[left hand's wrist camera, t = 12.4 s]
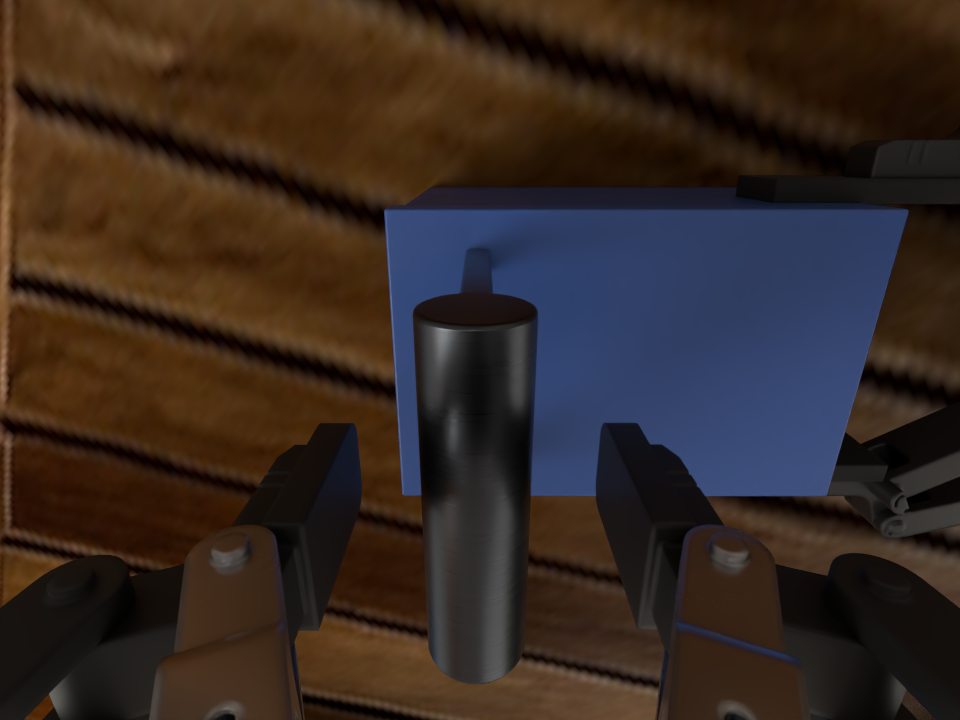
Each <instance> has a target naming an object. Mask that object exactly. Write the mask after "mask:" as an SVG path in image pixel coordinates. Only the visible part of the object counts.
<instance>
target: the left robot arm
mask: <svg viewBox="0 0 960 720" xmlns="http://www.w3.org/2000/svg"><path fill="white" fill-rule="evenodd" d="M361 496H362V480H361V470H360V460H359V450H358V439H357V431H356V427H355V425H354V424H353V423H320V424H319V425H318V427H317V428H316V430H315V432H314V434H313V435H312V437H311V439H310V440H309V442H308V444H307V445H294V446H293V447H292V448H290V449H289V450H287V451H286V452H285V453H283V454H282V455H280V456H279V457H278V458H277V459H276V461H275V462H274V464H273V465H272V467H271V468H270V470H269V471H268V475H266V476H265V477H264V479H263V480H262V482H261V483H260V487H259V488H257V489H256V491H255V492H254V494H253V495H252V497H251V498H250V500H249V501H248V503H247V504H246V506H245V507H244V509H243V510H242V512H241V513H240V515H239V516H238V518H237V519H236V521H235V522H234V524H233V525H232V527H229V528H226V529H223V530H220V531H218V532H216V533H214V534H212V535H210V536H208V537H206V538H205V539H203V540H202V541H201V542H199V543H198V544H197V545H196V546H195V547H194V548H193V549H192V550H191V551H190V553H189V554H188V556H187V558H186V561H185V563H184V564H181V565H179V566H175V567H171V568H167V569H162V570H158V571H153V572H149V573H144V574H140V575H135V576H131V577H130V574H129V571H128V568H127V565H126V563H125V562H124V561H123V560H122V559H121V558H119V557H116V556H112V555H95V556H88V557H84V558H80V559H77V560H74V561H71V562H68V563H66V564H63V565H61V566H59V567H57V568H55V569H53V570H51V571H49V572H48V573H46V574H44V575H43V576H41V577H40V578H39V579H37V580H36V581H34V582H33V583H32V584H31V585H29V586H28V587H27V588H26V589H24V590H23V591H22V592H20V593H19V594H18V595H17V596H15V597H14V598H13V599H11V600H10V601H9V602H8V603H6V604H5V605H4V606H2V607H1V608H0V720H24V719H25V718H26V717H27V716H28V715H29V714H30V712H31V711H32V710H33V709H34V708H35V707H36V706H37V705H38V704H39V703H40V702H41V701H42V700H43V699H44V698H45V697H46V696H47V695H48V694H49V695H50V698H51V700H52V702H53V705H54V708H53V709H52V710H51V711H50V712H49V713H48V714H47V716H46V717H45V718H44V719H43V720H305V718H304V709H303V701H302V693H301V685H300V677H299V669H298V661H297V654H296V649H295V643H294V641H295V639H296V636H297V633H298V631H299V630H319V628H320V625H321V622H322V619H323V616H324V613H325V610H326V607H327V604H328V601H329V598H330V595H331V592H332V589H333V586H334V583H335V580H336V577H337V575H338V572H339V569H340V566H341V563H342V560H343V557H344V554H345V551H346V548H347V545H348V542H349V539H350V536H351V533H352V530H353V527H354V524H355V521H356V518H357V515H358V512H359V509H360V504H361ZM596 501H597V507H598V510H599V514H600V517H601V520H602V523H603V526H604V529H605V532H606V535H607V538H608V541H609V544H610V547H611V550H612V553H613V556H614V559H615V562H616V565H617V568H618V571H619V574H620V577H621V580H622V583H623V586H624V589H625V592H626V595H627V598H628V601H629V604H630V607H631V610H632V613H633V616H634V619H635V622H636V625H637V629H658V632H659V634H660V637H661V640H662V642H663V645H664V648H665V649H664V654H663V661H662V669H661V677H660V685H659V693H658V701H657V709H656V718H655V720H917V719H916V718H915V717H914V716H913V714H912V713H911V712H910V711H909V710H908V709H907V708H906V707H905V706H904V705H903V704H902V703H901V702H902V700H903V697H904V695H905V692H906V690H908V691H909V692H910V693H911V694H912V695H913V696H914V697H915V698H916V699H917V700H918V701H919V702H920V703H921V704H922V705H923V706H924V707H925V708H926V709H927V710H928V711H929V713H930V714H931V715H932V716H933V717H934V718H935V719H936V720H960V608H959V607H957V606H956V605H955V604H954V603H952V602H951V601H950V600H949V599H947V598H946V597H945V596H943V595H942V594H941V593H940V592H938V591H937V590H936V589H934V588H933V587H932V586H931V585H929V584H928V583H927V582H926V581H924V580H923V579H922V578H920V577H919V576H917V575H916V574H915V573H913V572H911V571H910V570H908V569H906V568H904V567H902V566H900V565H898V564H896V563H894V562H891V561H889V560H886V559H883V558H880V557H876V556H872V555H867V554H860V553H849V554H843V555H840V556H838V557H836V558H835V559H834V560H833V562H832V564H831V566H830V569H829V573H828V576H825V575H821V574H816V573H812V572H807V571H803V570H798V569H794V568H789V567H785V566H781V565H777V564H775V561H774V558H773V556H772V554H771V553H770V551H769V550H768V549H767V548H766V547H765V546H764V545H763V544H762V543H761V542H759V541H758V540H757V539H755V538H754V537H752V536H750V535H748V534H746V533H744V532H742V531H740V530H737V529H734V528H731V527H727V526H724V524H723V523H722V521H721V520H720V518H719V517H718V515H717V514H716V512H715V511H714V509H713V508H712V506H711V504H710V503H709V501H708V500H707V498H706V497H705V495H704V494H703V492H702V491H701V489H700V488H699V487H697V483H696V482H695V480H694V478H693V477H692V475H689V471H688V469H687V468H686V466H685V465H684V463H683V462H682V460H681V459H680V457H679V456H677V455H676V454H675V453H673V452H672V451H670V450H669V449H668V448H666V447H665V446H663V445H662V444H650V443H649V442H648V440H647V438H646V436H645V435H644V433H643V431H642V430H641V428H640V426H639V425H638V423H603V425H602V427H601V432H600V442H599V453H598V463H597V474H596Z"/></svg>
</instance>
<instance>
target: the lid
mask: <svg viewBox="0 0 960 720" xmlns="http://www.w3.org/2000/svg"><path fill="white" fill-rule="evenodd" d="M908 213H909V210H907V209H903V208H896V207H888V206H390V207H388V208H386V209H385V211H384V214H385V230H386V245H387V261H388V277H389V292H390V308H391V323H392V339H393V355H394V370H395V386H396V401H397V417H398V433H399V448H400V464H401V479H402V493H403V495H421V500H422V521H423V541H424V562H425V582H426V603H427V624H428V644H429V650H430V654H431V656H432V658H433V660H434V662H435V663H436V665H437V666H438V667H439V668H440V670H441V671H443V672H444V673H445V674H446V675H448V676H449V677H451V678H453V679H455V680H457V681H460V682H463V683H469V684H484V683H489V682H492V681H495V680H498V679H500V678H502V677H503V676H505V675H506V674H508V673H509V672H510V671H511V670H512V669H513V668H514V667H515V666H516V664H517V663H518V661H519V660H520V658H521V656H522V653H523V650H524V641H525V618H526V595H527V571H528V548H529V525H530V501H531V496H596V474H597V463H598V453H599V442H600V432H601V427H602V425H603V423H638V425H639V426H640V428H641V430H642V431H643V433H644V435H645V436H646V438H647V440H648V442H649V443H650V444H662V445H663V446H665V447H666V448H668V449H669V450H670V451H672V452H673V453H675V454H676V455H677V456H679V457H680V459H681V460H682V462H683V463H684V465H685V466H686V468H687V469H688V471H689V475H692V477H693V478H694V480H695V482H696V483H697V487H699V488H700V489H701V491H702V492H703V494H704V495H705V496H826V495H827V493H828V489H829V486H830V482H831V479H832V475H833V472H834V468H835V465H836V461H837V458H838V455H839V451H840V448H841V444H842V441H843V437H844V434H845V430H846V427H847V423H848V420H849V417H850V413H851V410H852V406H853V403H854V399H855V396H856V392H857V389H858V385H859V382H860V379H861V375H862V372H863V368H864V365H865V361H866V358H867V354H868V351H869V347H870V344H871V341H872V337H873V334H874V330H875V327H876V323H877V320H878V316H879V313H880V309H881V306H882V303H883V299H884V296H885V292H886V289H887V285H888V282H889V278H890V275H891V271H892V268H893V265H894V261H895V258H896V254H897V251H898V247H899V244H900V240H901V237H902V233H903V230H904V227H905V223H906V220H907V216H908Z"/></svg>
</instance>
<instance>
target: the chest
mask: <svg viewBox="0 0 960 720" xmlns="http://www.w3.org/2000/svg"><path fill="white" fill-rule="evenodd" d="M736 189H737V187H430V188H429V189H428V190H426V191H425V192H424V193H422V194H421V195H419V196H418V197H416V198H415V199H414V200H412V201H411V202H409V203H408V204H407V205H405V206H880V205H873V204H866V203H771V202H765V201H759V200H754V199H748V198H742V197H736V196H735V195H736Z"/></svg>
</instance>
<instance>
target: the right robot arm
mask: <svg viewBox="0 0 960 720" xmlns="http://www.w3.org/2000/svg"><path fill="white" fill-rule="evenodd" d="M735 196H736V197H742V198H748V199H754V200H759V201H765V202H771V203H866V204H960V126H959V128H958V129H957V130H956V131H955V132H954V133H953V134H952V135H950V136H948V137H947V138H944V139H942V140H876V141H865V142H862V143H860V144H857V145H854V146H852V147H850V152H849V156H848V160H847V164H846V168H845V172H844V176H787V175H739V177H738V183H737V189H736V195H735ZM826 496H844V497H845V499H846V500H847V501H848V502H849V503H850V504H851V505H852V506H853V507H854V508H855V509H856V510H857V511H858V512H859V513H860V514H861V515H862V516H863V517H864V518H865V519H866V520H867V521H868V522H869V523H870V524H871V525H873V526H874V527H875V528H876V529H877V530H878V531H879V532H880V533H881V534H882V535H883V536H884V537H886V538H889V539H896V538H901V537H906V536H910V535H915V534H920V533H925V532H929V531H934V530H939V529H944V528H948V527H953V526H958V525H960V402H957V403H955V404H953V405H950V406H948V407H946V408H944V409H941V410H939V411H937V412H934V413H932V414H930V415H927V416H925V417H923V418H920V419H918V420H916V421H913V422H911V423H909V424H906V425H904V426H902V427H899V428H897V429H895V430H892V431H890V432H888V433H885V434H883V435H881V436H878V437H876V438H874V439H871V440H869V441H867V442H864V443H862V444H860V443H859V442H857V441H856V440H855V439H853V438H852V437H851V436H849V435H848V434H847V433H846V432H845V434H844V437H843V441H842V444H841V448H840V451H839V455H838V458H837V461H836V465H835V468H834V472H833V475H832V479H831V482H830V486H829V489H828V493H827V495H826Z"/></svg>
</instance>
